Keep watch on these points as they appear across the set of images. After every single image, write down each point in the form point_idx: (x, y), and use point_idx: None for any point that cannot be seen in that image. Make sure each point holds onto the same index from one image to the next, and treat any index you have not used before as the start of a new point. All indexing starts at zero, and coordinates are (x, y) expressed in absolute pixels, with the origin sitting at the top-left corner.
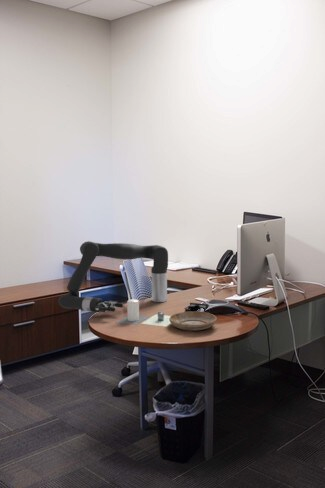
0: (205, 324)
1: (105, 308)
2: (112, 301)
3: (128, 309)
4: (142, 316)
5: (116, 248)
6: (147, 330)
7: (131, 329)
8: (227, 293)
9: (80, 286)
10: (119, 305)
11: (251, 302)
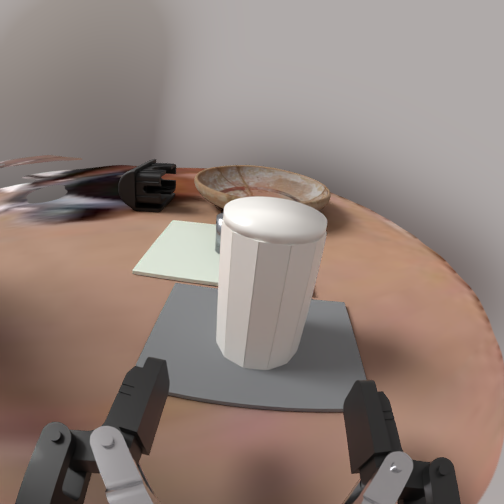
0: (300, 175)
1: (427, 462)
2: (52, 493)
3: (311, 288)
4: (178, 310)
5: None
6: (365, 267)
7: (397, 307)
8: None
9: None
10: (156, 405)
11: (58, 173)
